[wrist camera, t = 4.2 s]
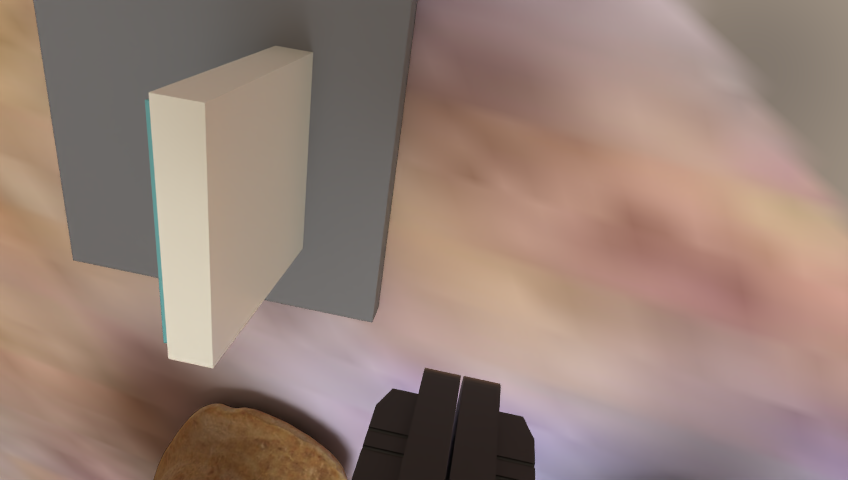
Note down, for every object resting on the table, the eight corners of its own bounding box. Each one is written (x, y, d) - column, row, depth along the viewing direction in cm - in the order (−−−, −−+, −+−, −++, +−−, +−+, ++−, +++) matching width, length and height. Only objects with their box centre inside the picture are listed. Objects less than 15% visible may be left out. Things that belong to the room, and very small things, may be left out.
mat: (90, 248, 28) (73, 260, 27) (45, -88, 21) (19, -90, 20) (378, 307, 27) (372, 322, 26) (420, -26, 20) (414, -25, 19)
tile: (263, 240, 25) (158, 356, 17) (267, 44, 21) (136, 90, 14) (303, 248, 24) (213, 368, 17) (313, 52, 21) (204, 102, 14)
